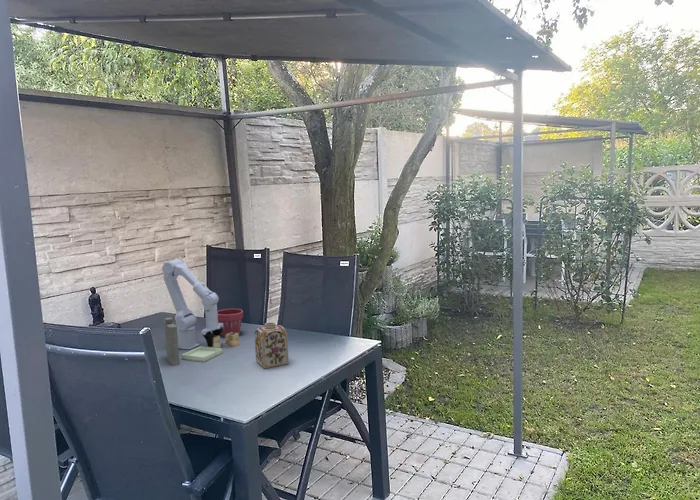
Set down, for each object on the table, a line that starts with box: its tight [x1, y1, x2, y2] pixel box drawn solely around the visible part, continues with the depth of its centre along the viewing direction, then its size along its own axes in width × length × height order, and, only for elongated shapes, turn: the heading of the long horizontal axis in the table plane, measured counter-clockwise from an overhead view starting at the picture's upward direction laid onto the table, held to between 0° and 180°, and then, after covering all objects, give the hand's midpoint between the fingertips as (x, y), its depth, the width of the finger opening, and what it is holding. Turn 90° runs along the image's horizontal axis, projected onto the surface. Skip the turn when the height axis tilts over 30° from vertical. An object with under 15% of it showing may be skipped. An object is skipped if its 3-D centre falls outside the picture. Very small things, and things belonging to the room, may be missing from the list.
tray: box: [181, 345, 224, 363], centre depth 242 cm, size 13×13×2 cm
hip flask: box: [163, 317, 180, 366], centre depth 237 cm, size 16×4×20 cm, turn 29°
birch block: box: [206, 335, 222, 349], centre depth 253 cm, size 4×4×6 cm
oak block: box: [225, 332, 240, 348], centre depth 257 cm, size 4×4×6 cm
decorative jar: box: [253, 322, 289, 369], centre depth 228 cm, size 12×12×18 cm
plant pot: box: [217, 308, 244, 338], centre depth 276 cm, size 14×14×13 cm
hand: (213, 345), depth 254 cm, fingers closed on birch block, 4 cm apart
